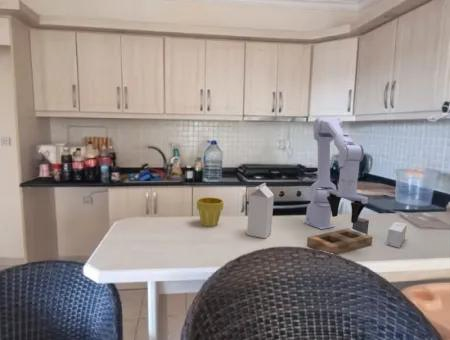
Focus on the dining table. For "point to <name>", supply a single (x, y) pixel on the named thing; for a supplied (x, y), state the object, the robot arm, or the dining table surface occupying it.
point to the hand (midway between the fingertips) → (344, 219)
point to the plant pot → (209, 210)
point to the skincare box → (396, 234)
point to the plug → (361, 225)
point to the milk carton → (260, 212)
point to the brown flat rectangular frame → (339, 241)
